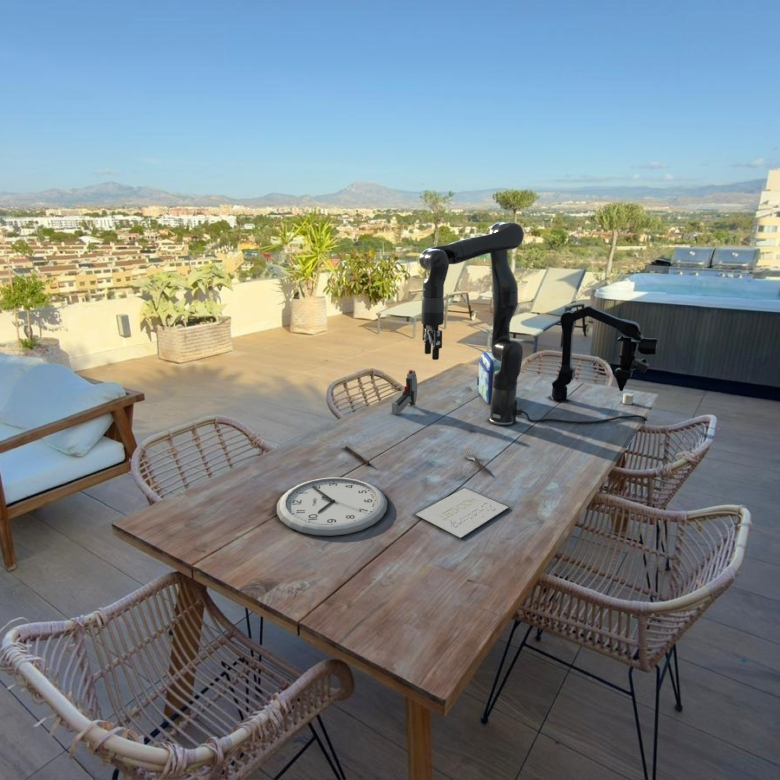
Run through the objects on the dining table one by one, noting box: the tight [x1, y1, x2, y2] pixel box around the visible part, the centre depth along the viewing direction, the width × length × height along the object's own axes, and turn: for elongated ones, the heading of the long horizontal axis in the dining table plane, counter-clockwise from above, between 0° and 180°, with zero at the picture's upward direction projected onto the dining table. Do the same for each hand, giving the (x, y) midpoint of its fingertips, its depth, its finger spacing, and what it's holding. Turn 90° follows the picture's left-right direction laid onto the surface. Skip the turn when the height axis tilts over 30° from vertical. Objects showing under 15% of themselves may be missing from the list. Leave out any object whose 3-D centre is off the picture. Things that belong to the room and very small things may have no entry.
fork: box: [463, 448, 488, 474], centre depth 169 cm, size 3×16×2 cm, turn 15°
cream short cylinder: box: [622, 392, 634, 405], centre depth 231 cm, size 4×4×4 cm
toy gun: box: [391, 369, 418, 415], centre depth 216 cm, size 2×16×15 cm
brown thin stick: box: [344, 445, 370, 465], centre depth 173 cm, size 15×1×1 cm, turn 34°
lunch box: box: [476, 351, 501, 406], centre depth 230 cm, size 26×11×21 cm, turn 179°
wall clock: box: [276, 476, 388, 537], centre depth 142 cm, size 30×2×30 cm
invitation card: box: [414, 487, 509, 539], centre depth 141 cm, size 21×1×15 cm
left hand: (431, 356), depth 182 cm, fingers open, 8 cm apart
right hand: (622, 388), depth 221 cm, fingers open, 9 cm apart
